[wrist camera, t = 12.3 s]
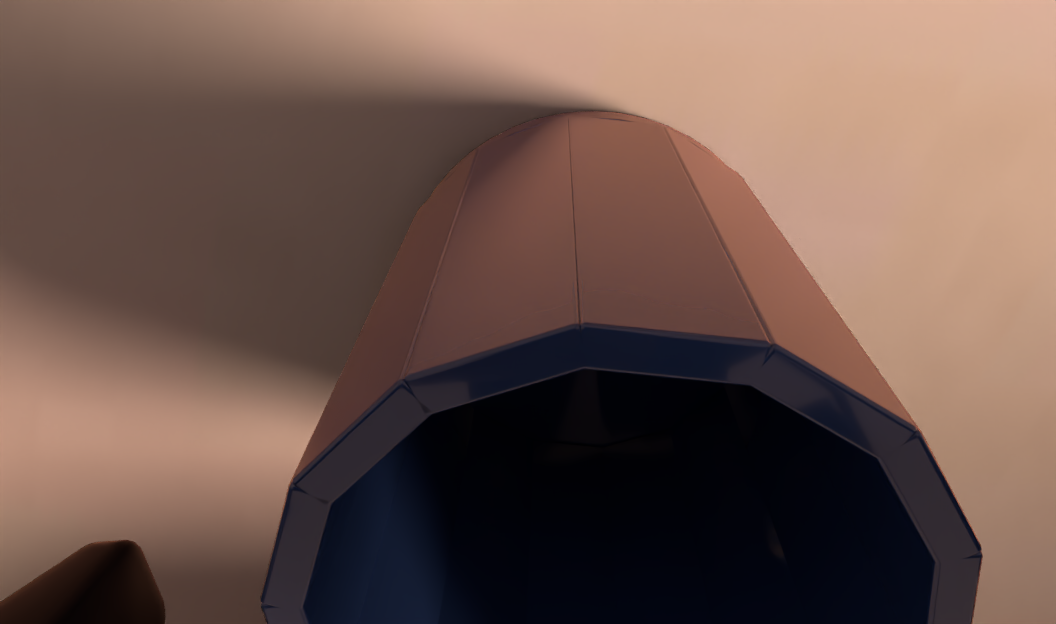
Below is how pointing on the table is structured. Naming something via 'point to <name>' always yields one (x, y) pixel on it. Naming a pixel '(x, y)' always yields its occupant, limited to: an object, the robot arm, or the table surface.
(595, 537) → the blue cup
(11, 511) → the table surface
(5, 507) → the table surface
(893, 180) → the table surface
